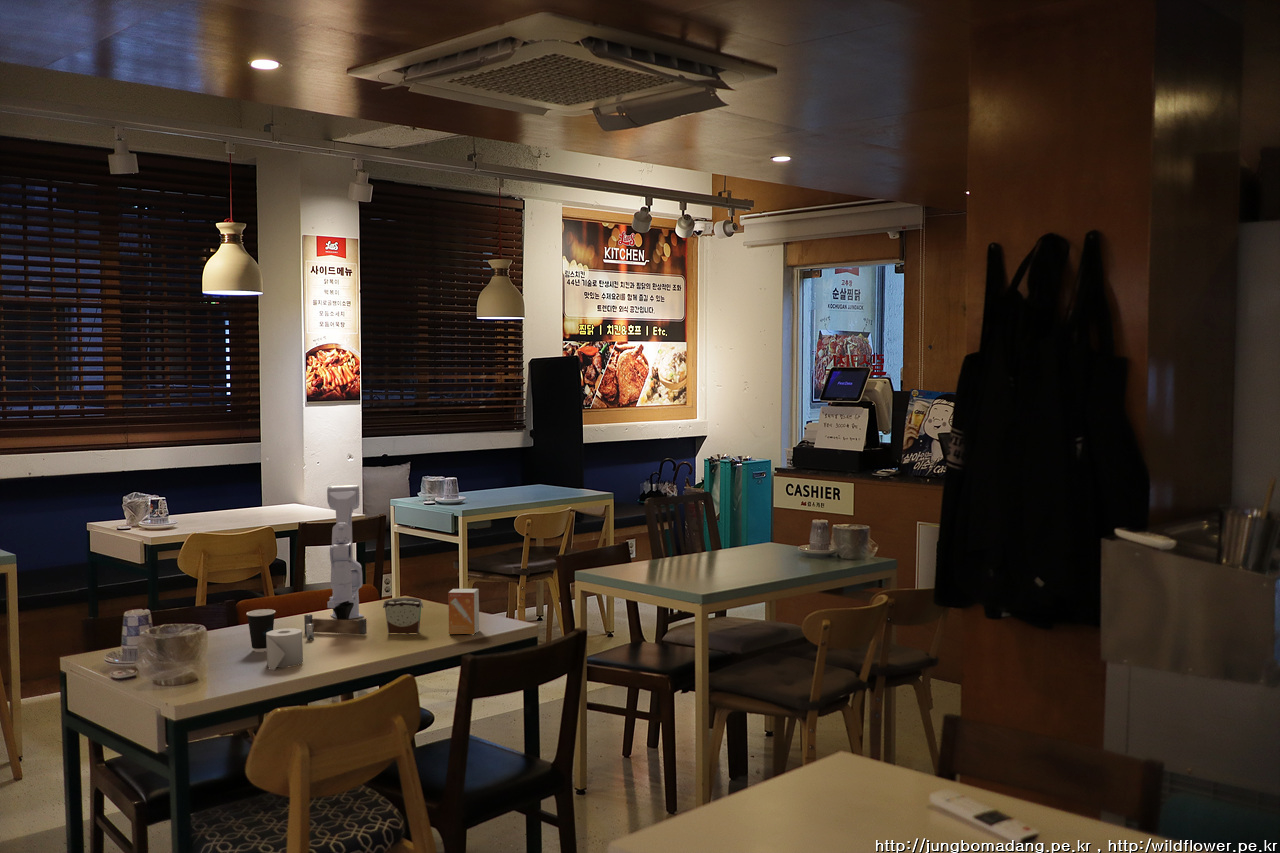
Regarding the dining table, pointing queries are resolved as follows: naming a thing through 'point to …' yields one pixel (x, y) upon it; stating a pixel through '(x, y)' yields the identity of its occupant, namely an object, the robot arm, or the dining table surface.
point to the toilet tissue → (284, 647)
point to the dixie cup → (260, 627)
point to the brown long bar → (340, 626)
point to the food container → (403, 615)
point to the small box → (463, 611)
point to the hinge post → (307, 621)
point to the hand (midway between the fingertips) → (343, 627)
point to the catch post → (310, 631)
